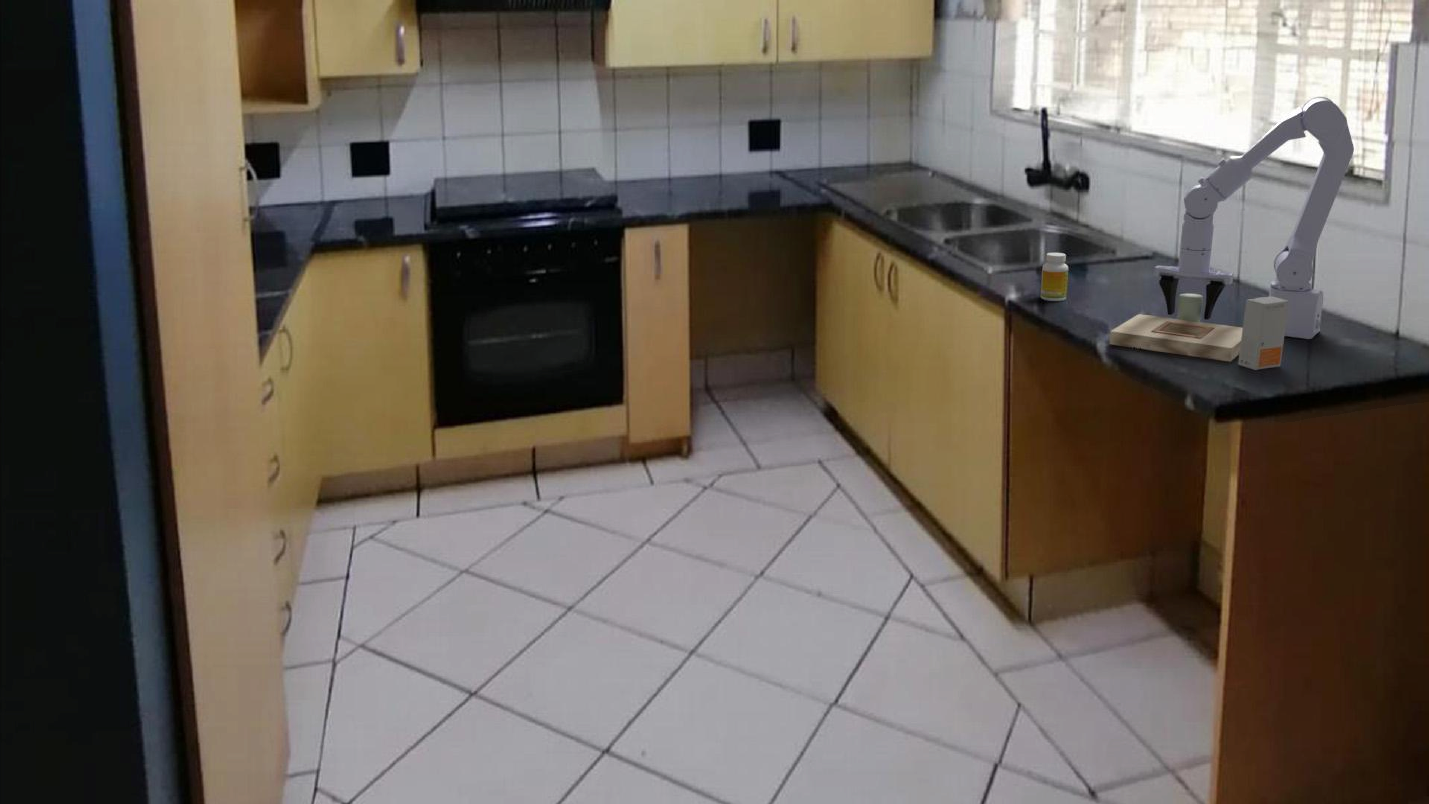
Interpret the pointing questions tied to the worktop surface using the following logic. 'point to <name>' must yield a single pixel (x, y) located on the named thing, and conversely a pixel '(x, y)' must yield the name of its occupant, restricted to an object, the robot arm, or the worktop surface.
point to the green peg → (1190, 307)
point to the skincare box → (1263, 332)
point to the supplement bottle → (1054, 277)
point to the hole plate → (1179, 337)
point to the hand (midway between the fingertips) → (1188, 316)
